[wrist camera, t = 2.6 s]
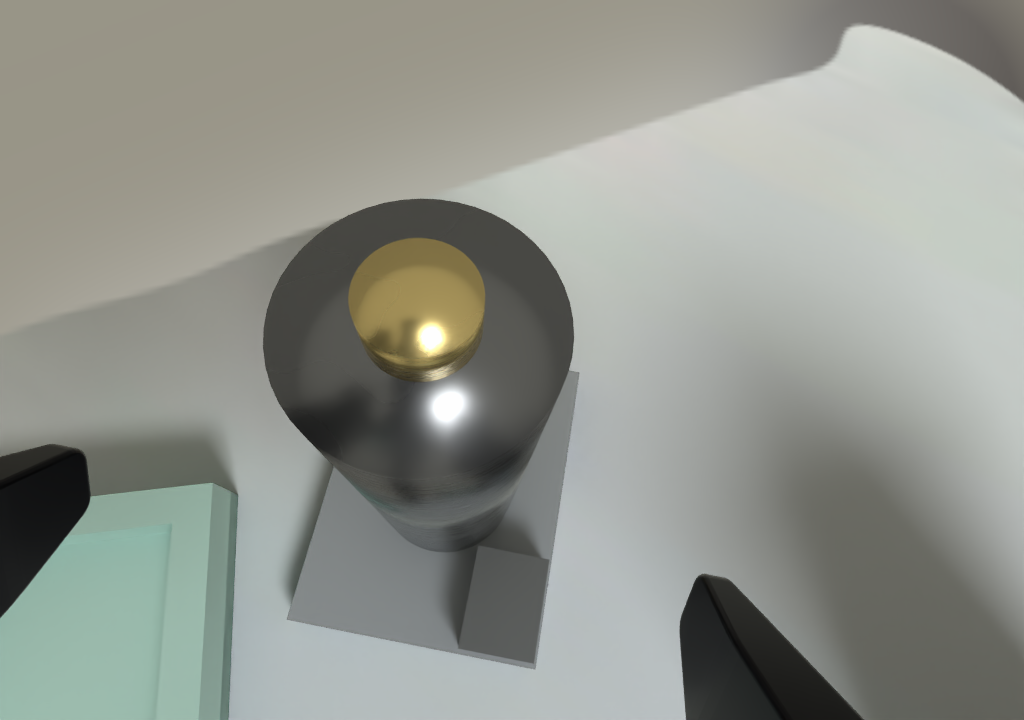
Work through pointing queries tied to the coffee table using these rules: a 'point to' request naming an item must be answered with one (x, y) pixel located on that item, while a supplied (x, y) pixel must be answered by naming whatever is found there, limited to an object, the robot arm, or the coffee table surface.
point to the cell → (422, 361)
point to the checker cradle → (442, 566)
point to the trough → (128, 613)
